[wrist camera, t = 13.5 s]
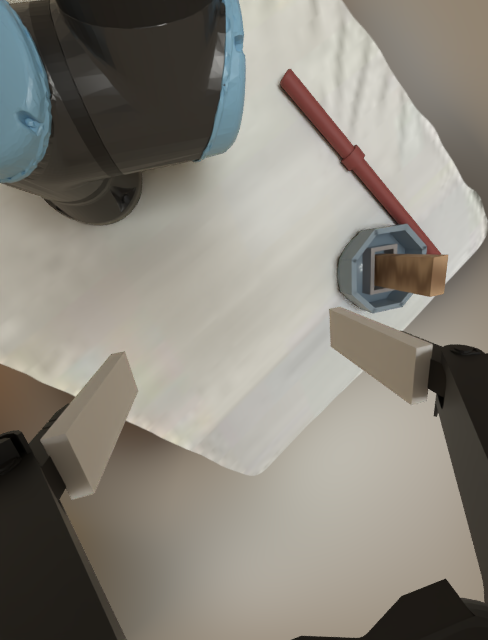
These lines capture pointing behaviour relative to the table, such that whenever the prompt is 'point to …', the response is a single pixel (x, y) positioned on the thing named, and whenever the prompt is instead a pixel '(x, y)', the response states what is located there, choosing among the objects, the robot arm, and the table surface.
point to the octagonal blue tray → (360, 266)
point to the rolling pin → (350, 154)
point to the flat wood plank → (411, 273)
